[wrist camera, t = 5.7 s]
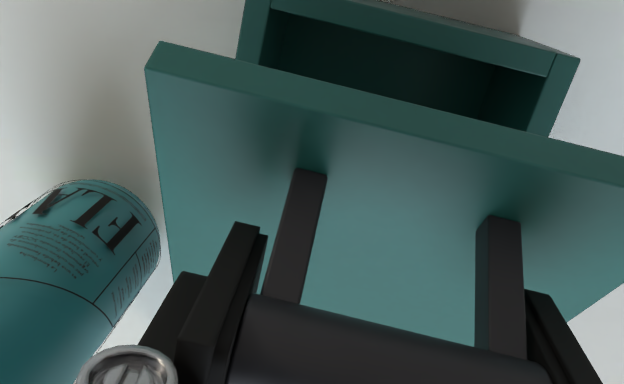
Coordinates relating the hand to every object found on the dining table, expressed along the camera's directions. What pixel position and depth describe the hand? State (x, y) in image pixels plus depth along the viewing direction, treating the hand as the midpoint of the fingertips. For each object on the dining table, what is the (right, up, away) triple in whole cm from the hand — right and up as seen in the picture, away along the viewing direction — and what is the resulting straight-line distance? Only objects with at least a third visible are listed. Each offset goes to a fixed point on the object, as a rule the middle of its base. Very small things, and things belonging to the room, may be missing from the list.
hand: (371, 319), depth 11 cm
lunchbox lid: (0, 0, +4) cm, 4 cm away
